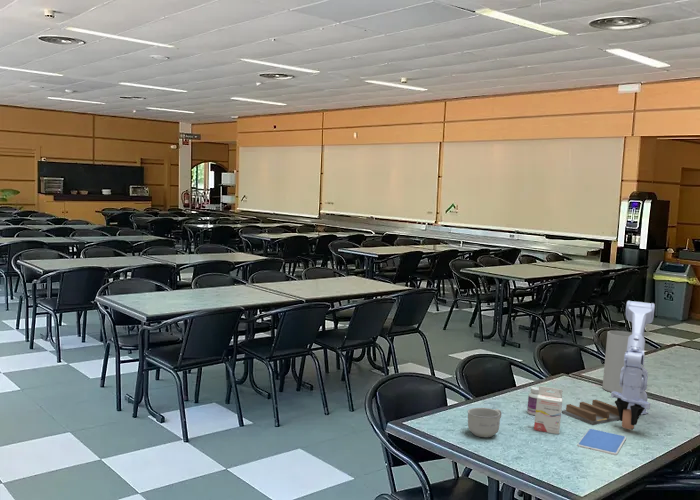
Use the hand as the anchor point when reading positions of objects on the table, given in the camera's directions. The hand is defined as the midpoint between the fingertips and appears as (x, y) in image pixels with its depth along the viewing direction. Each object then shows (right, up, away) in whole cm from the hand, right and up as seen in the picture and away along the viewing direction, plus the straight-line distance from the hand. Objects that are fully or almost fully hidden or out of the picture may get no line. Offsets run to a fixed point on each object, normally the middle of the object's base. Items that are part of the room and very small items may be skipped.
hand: (628, 422), depth 238 cm
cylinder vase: (+17, 0, +52) cm, 55 cm away
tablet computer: (-14, -4, -13) cm, 20 cm away
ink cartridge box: (-30, -2, -4) cm, 31 cm away
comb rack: (-7, -1, +15) cm, 16 cm away
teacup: (-53, -1, -12) cm, 54 cm away
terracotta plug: (0, -2, 0) cm, 2 cm away
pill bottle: (-30, 0, +13) cm, 33 cm away
